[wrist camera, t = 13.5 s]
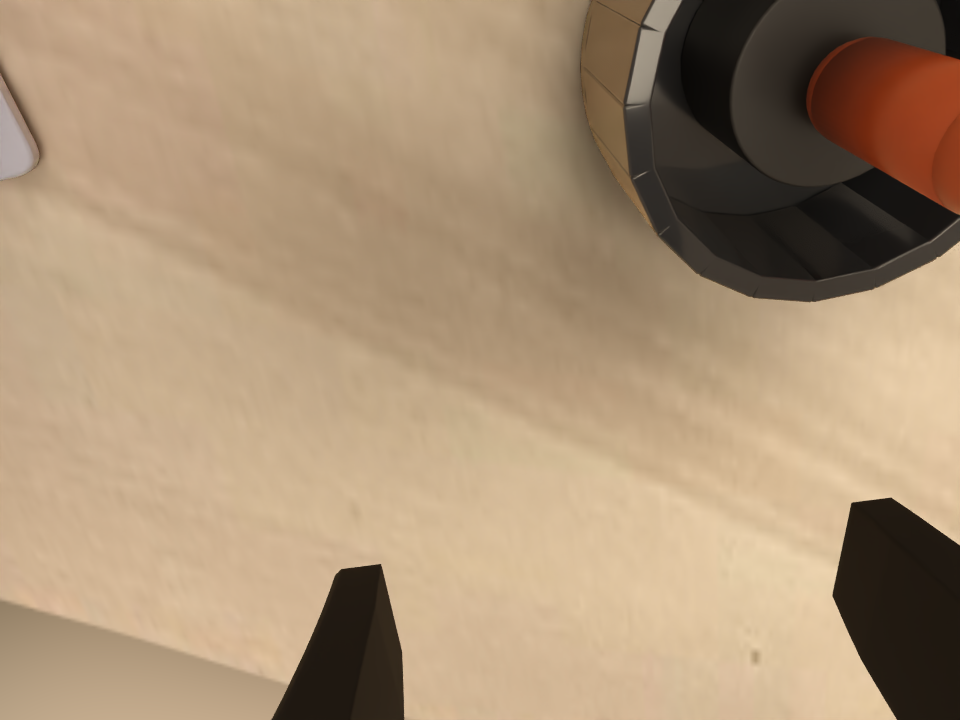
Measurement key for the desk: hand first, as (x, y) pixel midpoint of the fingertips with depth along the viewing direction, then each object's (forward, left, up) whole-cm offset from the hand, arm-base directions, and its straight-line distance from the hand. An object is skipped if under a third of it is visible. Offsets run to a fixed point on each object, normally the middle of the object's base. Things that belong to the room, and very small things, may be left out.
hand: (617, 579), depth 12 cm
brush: (+6, +5, -9) cm, 12 cm away
